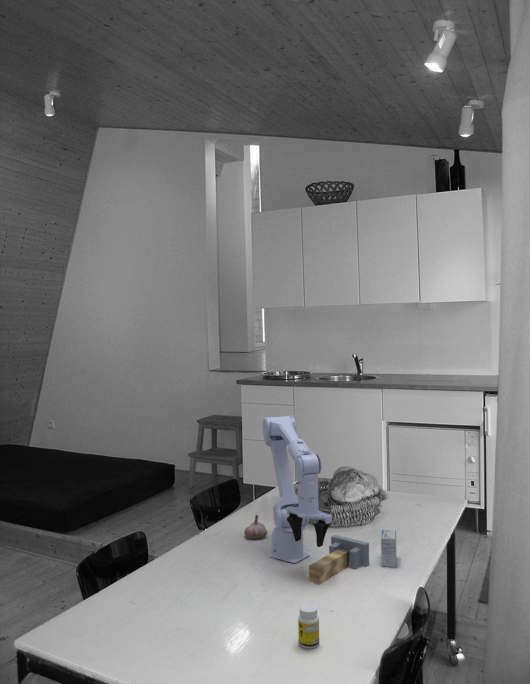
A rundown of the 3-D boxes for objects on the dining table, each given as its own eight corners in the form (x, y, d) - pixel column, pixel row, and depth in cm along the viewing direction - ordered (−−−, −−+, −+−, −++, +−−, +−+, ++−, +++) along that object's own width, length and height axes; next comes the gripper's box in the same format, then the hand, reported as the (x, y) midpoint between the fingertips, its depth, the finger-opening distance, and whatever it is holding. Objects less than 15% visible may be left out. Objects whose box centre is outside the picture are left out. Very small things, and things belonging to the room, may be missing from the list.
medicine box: (396, 568, 184) (396, 539, 184) (381, 567, 185) (380, 538, 185) (396, 557, 192) (396, 529, 192) (381, 556, 193) (381, 529, 193)
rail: (319, 584, 174) (319, 568, 174) (309, 581, 176) (308, 565, 176) (349, 566, 186) (349, 551, 186) (339, 563, 189) (339, 548, 188)
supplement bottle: (297, 638, 145) (296, 603, 145) (317, 637, 145) (316, 602, 145) (300, 650, 140) (299, 613, 140) (321, 648, 141) (320, 612, 140)
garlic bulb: (271, 536, 213) (270, 513, 212) (259, 543, 207) (259, 519, 206) (252, 532, 217) (252, 509, 216) (240, 539, 211) (240, 515, 210)
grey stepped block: (325, 560, 190) (324, 539, 190) (334, 555, 195) (334, 534, 194) (359, 570, 183) (359, 548, 183) (369, 564, 187) (368, 542, 187)
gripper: (279, 495, 180) (280, 541, 181) (321, 504, 171) (322, 553, 172) (293, 489, 186) (294, 534, 187) (335, 498, 177) (336, 545, 178)
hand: (308, 543), depth 180 cm, fingers open, 7 cm apart
